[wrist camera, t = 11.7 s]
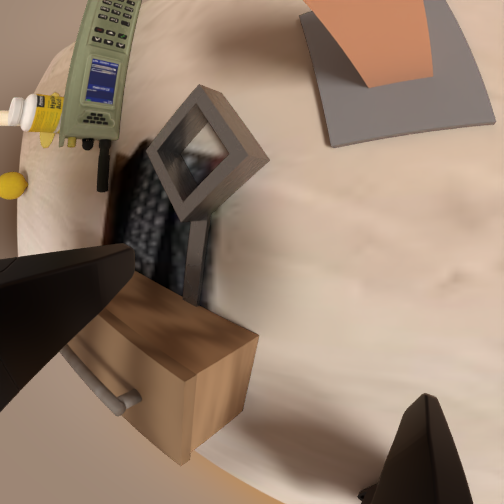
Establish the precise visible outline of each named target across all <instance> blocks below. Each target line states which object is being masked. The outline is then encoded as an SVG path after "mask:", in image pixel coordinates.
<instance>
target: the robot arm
mask: <svg viewBox="0 0 504 504" xmlns="http://www.w3.org/2000/svg"><path fill="white" fill-rule="evenodd" d="M134 272H135V252H134V249H133V248H131V247H129V246H128V245H126V244H123V243H122V244H113V245H105V246H97V247H89V248H81V249H73V250H65V251H58V252H50V253H43V254H36V255H28V256H21V257H14V258H7V259H0V412H1V411H2V410H3V409H4V408H5V407H6V405H7V404H8V403H9V402H10V401H11V400H12V399H13V398H14V397H15V396H16V395H17V394H18V393H19V391H20V390H21V389H22V388H23V387H24V386H25V385H26V384H27V383H28V382H29V381H30V380H31V379H32V378H33V377H34V376H35V375H36V374H37V373H38V372H39V371H40V370H41V369H42V368H43V367H44V366H45V365H46V364H47V363H48V362H49V361H50V360H51V359H52V358H53V357H54V356H55V355H56V354H57V353H58V352H59V351H60V350H61V349H62V348H63V347H64V346H65V345H66V344H67V343H68V342H70V341H71V340H72V339H73V338H74V337H75V336H76V335H77V334H78V333H79V332H80V331H81V330H82V329H83V328H84V327H85V326H86V325H87V324H89V323H90V322H91V321H92V320H93V319H94V318H95V317H96V316H97V315H98V314H99V313H100V312H101V311H102V310H103V309H104V308H105V307H106V306H107V305H108V304H109V303H110V302H111V300H112V299H113V298H114V297H115V296H116V295H117V294H118V293H119V292H120V290H121V289H122V288H123V287H124V286H125V285H126V284H127V283H128V282H129V281H130V279H131V278H132V277H133V275H134ZM357 497H358V499H360V500H361V501H362V503H361V504H473V501H472V497H471V493H470V490H469V486H468V483H467V480H466V476H465V473H464V470H463V467H462V464H461V461H460V458H459V455H458V452H457V449H456V446H455V443H454V440H453V437H452V435H451V432H450V429H449V427H448V424H447V421H446V419H445V416H444V414H443V411H442V409H441V406H440V404H439V401H438V399H437V398H436V397H435V396H432V395H430V394H427V393H424V394H422V395H421V396H420V397H419V398H418V399H417V400H416V401H415V402H414V403H413V404H411V405H410V406H409V407H408V408H407V410H406V411H405V412H404V414H403V417H402V419H401V422H400V425H399V428H398V431H397V433H396V436H395V439H394V441H393V444H392V446H391V449H390V451H389V454H388V456H387V459H386V462H385V464H384V467H383V470H382V474H381V477H380V480H379V483H377V484H375V485H373V486H371V487H369V488H367V489H365V490H363V491H360V492H359V494H358V496H357Z"/></svg>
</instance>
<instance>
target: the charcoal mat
mask: <svg viewBox="0 0 504 504" xmlns="http://www.w3.org/2000/svg"><path fill="white" fill-rule="evenodd" d="M423 2H424V7H425V13H426V18H427V25H428V31H429V38H430V46H431V55H432V65H433V77H427V78H421V79H414V80H408V81H403V82H397V83H392V84H387V85H382V86H377V87H372V88H368V86H367V85H366V83H365V82H364V80H363V78H362V77H361V75H360V74H359V72H358V71H357V69H356V68H355V66H354V65H353V64H352V62H351V61H350V59H349V58H348V56H347V55H346V54H345V52H344V51H343V49H342V48H341V47H340V45H339V44H338V43H337V41H336V40H335V39H334V37H333V36H332V35H331V33H330V32H329V31H328V30H327V28H326V27H325V26H324V25H323V23H322V22H321V21H320V20H319V18H318V17H317V16H316V15H315V14H314V12H313V11H311V12H308V13H305V14H302V15H299V17H300V21H301V24H302V27H303V31H304V34H305V38H306V41H307V45H308V48H309V52H310V56H311V59H312V63H313V67H314V71H315V75H316V79H317V83H318V87H319V91H320V96H321V100H322V104H323V109H324V114H325V118H326V123H327V128H328V133H329V138H330V143H331V147H333V148H337V147H342V146H347V145H352V144H357V143H363V142H368V141H373V140H379V139H385V138H391V137H397V136H403V135H409V134H416V133H423V132H430V131H437V130H445V129H454V128H462V127H472V126H482V125H494V124H495V123H496V120H495V116H494V113H493V109H492V106H491V103H490V100H489V97H488V94H487V91H486V88H485V85H484V82H483V79H482V77H481V74H480V72H479V69H478V66H477V64H476V61H475V59H474V57H473V54H472V52H471V50H470V47H469V45H468V43H467V41H466V39H465V37H464V34H463V32H462V30H461V28H460V26H459V24H458V22H457V20H456V18H455V17H454V15H453V13H452V11H451V9H450V7H449V6H448V4H447V2H446V0H423Z"/></svg>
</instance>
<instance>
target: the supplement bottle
mask: <svg viewBox="0 0 504 504" xmlns="http://www.w3.org/2000/svg"><path fill="white" fill-rule="evenodd" d="M63 102H64V97H57V96H49V95H41V94H31V95H29V96H28V97H27V98H26V99H25V100H23V98H21V97H15V98H13V100H12V103H11V105H10V109H9V114H8V126H17V125H18V124H19V125H20V126H21V129H22V130H23V131H27V132H46V133H59V132H60V123H61V115H62V108H63Z"/></svg>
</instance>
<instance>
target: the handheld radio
mask: <svg viewBox="0 0 504 504" xmlns="http://www.w3.org/2000/svg"><path fill="white" fill-rule="evenodd" d="M141 3H142V0H88V3H87V6H86V9H85V12H84V15H83V18H82V22H81V25H80V28H79V33H78V36H77V40H76V43H75V47H74V51H73V55H72V60H71V64H70V69H69V74H68V79H67V84H66V90H65V95H64V102H63V108H62V115H61V123H60V132H59V147H62V146H63V144H64V139H65V138H68V145H67V146H68V147H75V146H76V145H75V144H76V139H82V142H83V144H82V147H83V149H84V150H91V149H92V148H93V143H94V142H93V141H94V140H100V141H99V148H100V155H99V161H98V175H97V191H98V192H106V191H108V179H109V160H110V155H109V148H110V145H111V141H114V140H118V138H119V127H120V117H121V109H122V101H123V93H124V86H125V79H126V73H127V67H128V61H129V56H130V50H131V45H132V40H133V36H134V31H135V26H136V22H137V18H138V14H139V10H140V6H141ZM86 140H87V141H86ZM88 140H89V141H88ZM90 140H91V141H90Z"/></svg>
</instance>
